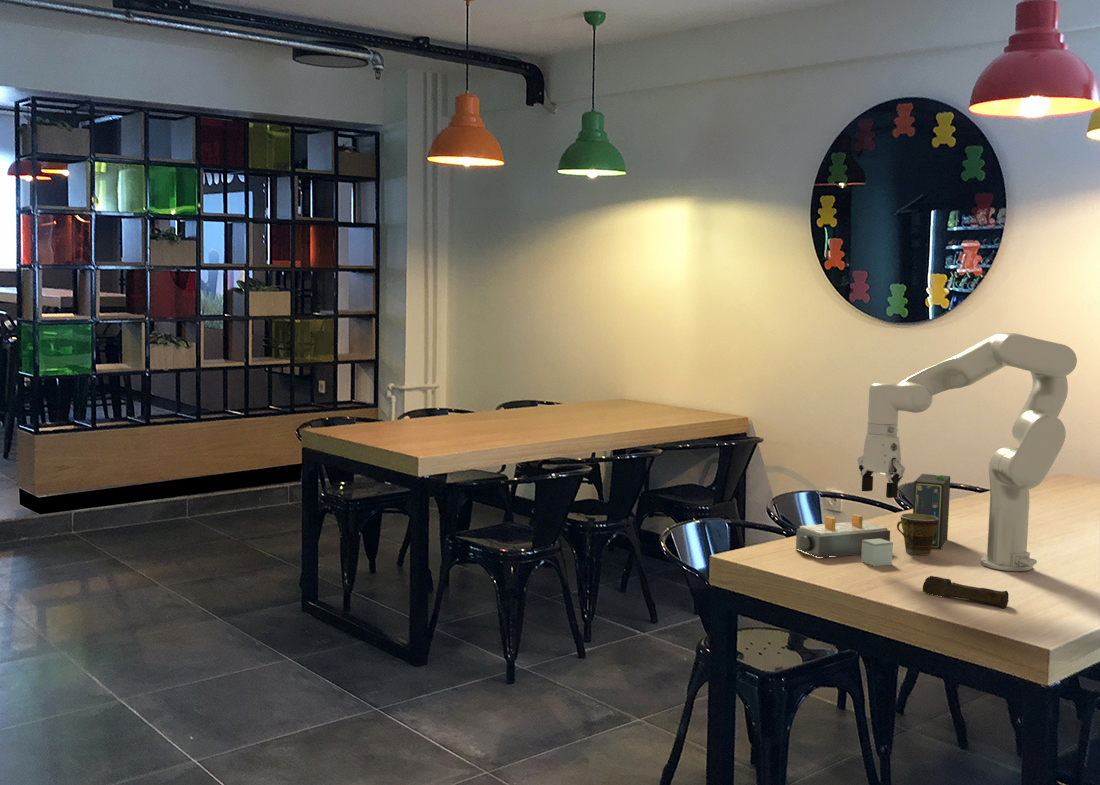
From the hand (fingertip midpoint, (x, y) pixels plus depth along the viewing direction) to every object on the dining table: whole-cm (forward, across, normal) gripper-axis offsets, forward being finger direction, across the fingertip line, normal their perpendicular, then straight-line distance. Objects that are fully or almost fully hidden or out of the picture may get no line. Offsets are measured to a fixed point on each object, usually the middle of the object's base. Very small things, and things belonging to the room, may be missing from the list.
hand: (879, 494), depth 272 cm
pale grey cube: (+19, 0, 0) cm, 19 cm away
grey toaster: (+18, +14, 0) cm, 23 cm away
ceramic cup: (+19, +6, -18) cm, 26 cm away
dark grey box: (+19, +14, -31) cm, 39 cm away
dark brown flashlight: (+19, -36, +4) cm, 41 cm away
